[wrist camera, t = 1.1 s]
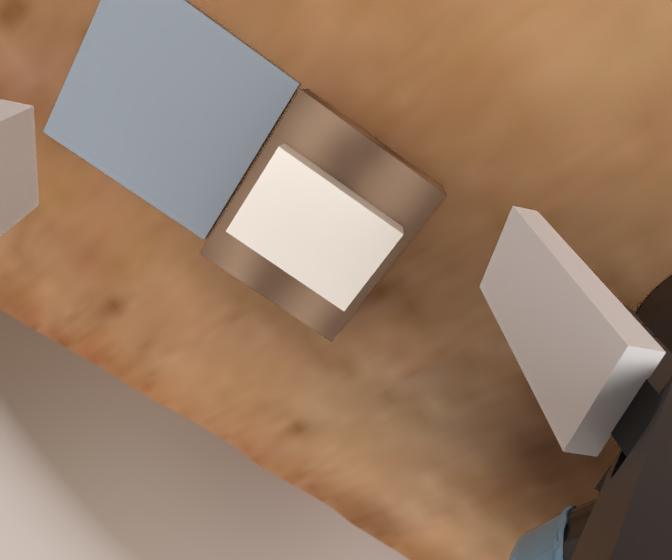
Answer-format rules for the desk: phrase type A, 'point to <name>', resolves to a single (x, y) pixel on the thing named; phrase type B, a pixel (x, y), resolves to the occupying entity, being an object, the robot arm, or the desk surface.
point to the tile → (314, 227)
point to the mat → (169, 106)
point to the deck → (352, 171)
